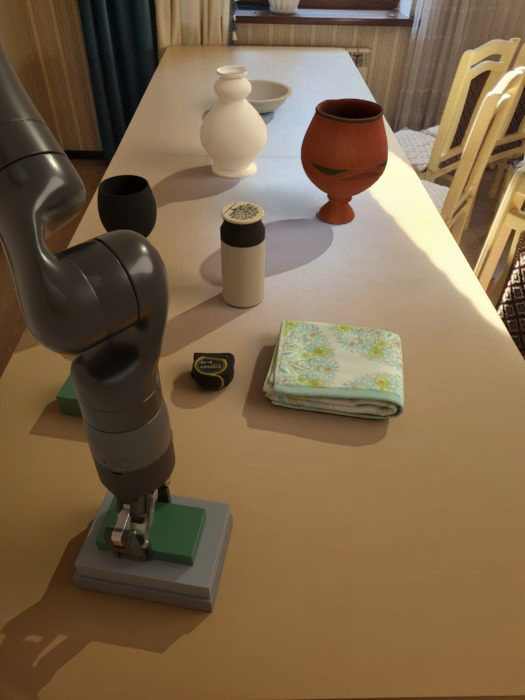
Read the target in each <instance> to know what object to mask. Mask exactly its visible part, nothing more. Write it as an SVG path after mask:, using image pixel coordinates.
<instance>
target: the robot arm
mask: <svg viewBox="0 0 525 700" xmlns="http://www.w3.org/2000/svg"><path fill="white" fill-rule="evenodd" d="M86 202H87V190H86V186H85V184H84V182H83V179H82V178H81V176H80V174H79V172H78V171H77V170H76V168H75V166H74V164H73V163H72V161H71V159H69V157H68V155H67V154H66V152H65V150H64V149H63V147H62V145H61V144H60V143H59V141H58V139H57V138H56V136H55V135H54V133H53V132H52V130H51V128H50V126H48V124H47V122H46V121H45V119H44V118H43V116H42V114H41V113H40V111H39V109H38V108H37V107H36V105H35V104H34V102H33V100H32V98H31V96H30V95H29V93H28V92H27V90H26V88H25V87H24V85H23V83H22V81H21V79H20V77H19V75H18V73H17V70H16V69H15V67H14V65H13V62H12V60H11V59H10V56H9V54H8V51H7V49H6V47H5V45H4V42H3V40H2V38H1V37H0V244H1V247H2V249H3V252H4V256H5V258H6V260H7V263H8V267H9V270H10V274H11V277H12V281H13V286H14V289H15V293H16V297H17V301H18V305H19V308H20V311H21V314H22V318H23V320H24V323H25V325H26V327H27V329H28V330H29V333H30V334H31V335H32V336H33V338H34V339H35V340H36V341H37V342H38V343H39V344H40V345H42V346H43V347H44V348H45V349H48V350H49V351H51V352H53V353H56V354H58V355H61V356H67V357H69V356H73V358H72V361H71V363H70V369H69V370H70V371H69V375H71V381H72V384H73V388H74V391H75V394H76V397H77V400H78V403H79V406H80V409H81V412H82V416H83V417H82V424H83V431H84V435H85V439H86V441H87V442H86V443H87V445H88V447H89V450H90V454H91V458H92V460H93V463H94V465H95V469H96V473H97V475H98V479H99V481H100V482H101V484H102V485H103V487H105V488H106V489H107V490H109V491H110V492H111V493H112V494H113V495H115V497H116V510H117V512H118V520H117V523H116V525H115V527H107V528H106V529H105V531H104V540H105V542H106V543H107V545H108V546H109V548H110V550H111V551H112V553H113V555H114V556H115V558H118V559H127V560H133V561H135V562H144V563H146V562H147V561H151V560H152V557H153V550H152V546H151V542H150V539H149V530H150V528H151V527H152V525H153V523H154V516H155V502H156V501H160V502H167V503H171V497H170V495H171V491H170V484H171V482H172V479H171V476H172V473H173V472H174V469H175V466H176V452H175V448H174V447H175V446H174V437H173V429H172V427H171V420H170V414H169V410H168V405H167V403H166V401H165V398H164V395H163V389H162V388H163V387H162V382H161V376H160V370H159V362H160V358H161V353H162V348H163V343H164V336H165V332H166V327H167V321H168V316H169V311H170V301H171V300H170V299H171V297H170V296H171V294H170V290H171V289H170V281H169V280H170V279H169V276H168V272H167V268H166V264H165V262H164V259H163V258H162V256H161V255H160V253H159V251H158V249H157V248H156V246H154V245H153V243H152V242H151V241H150V240H149V239H148V238H145V237H144V236H142V235H141V234H139V233H137V232H134V231H131V230H124V229H119V230H115V231H110V232H107V231H106V232H105V233H103V234H99V235H97V236H94V237H92V238H90V239H88V240H85V241H82V242H79V243H78V244H75V245H72V246H70V247H67V248H65V249H62V250H60V251H56V252H54V253H52V251H51V250H50V249H49V247H48V245H47V243H46V240H47V239H48V238H49V237H50V236H53V234H55V233H56V232H58V231H59V230H61V229H62V228H64V227H65V226H66V225H68V224H69V223H70V222H71V221H72V220H74V219H75V218H76V217H77V216H78V215H79V214H80V213H81V212H82V210H83V208H84V207H85V204H86ZM145 513H146V517H141V516H140V515H143V514H145ZM131 528H132V529H138V530H140V531H141V535H139V534H136V530H131Z"/></svg>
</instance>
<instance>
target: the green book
mask: <svg viewBox="0 0 525 700" xmlns="http://www.w3.org/2000/svg"><path fill="white" fill-rule="evenodd" d="M140 516H141V517H146V513H145V514H143V515H140ZM117 520H118V512H117V510H116V497H115V495H114V497H113V500H112V502H111V504H110V507H109V509H108V511H107V513H106V516H105V518H104V520H103V523H102V525H101V527H100V530H99V532H98V534H97V536H96V539H95V542H96V545H97V548H98V549H99V550H105V551H111V550H110V548H109V546H108V545H107V543H106V542H105V540H104V531H105V529H106V528H107V527H115V525H116V523H117ZM205 522H206V509H204V508H198V507H191V506H185V505H179V504H173V503H167V502H160V501H156V502H155V516H154V523H153V525H152V527H151V528H150V530H149V539H150V542H151V546H152V550H153V557H152V559H157V560H163V561H168V562H174V563H180V564H185V565H191V566H193V565H194V561H195V558H196V554H197V550H198V547H199V543H200V540H201V536H202V532H203V529H204V525H205ZM131 530H136V534H139V535H141V531H140V530H138V529H132V528H131ZM111 552H112V551H111Z"/></svg>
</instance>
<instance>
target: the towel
mask: <svg viewBox="0 0 525 700" xmlns="http://www.w3.org/2000/svg"><path fill="white" fill-rule="evenodd" d="M404 380H405V379H404V364H403V346H402V338H401V337H400V335H399V334H397V333H396V332H392V331H387V330H385V329H382V328H377V327H376V328H375V327H369V326H368V327H366V326H365V327H364V326H354V325H346V324H339V323H338V324H337V323H330V322H321V321H319V322H318V321H308V320H293V319H287V320H281V322H280V328H279V331H278V337H277V338H276V341H275V344H274V349H273V354H272V358H271V362H270V365H269V368H268V370H267V374H266V377H265V380H264V383H263V387H262V392H264V393H265V394H264V395H265V397H266V398H268V399H269V400H270V403H272V405H275V406H280V407H284V408H290V409H294V410H305V411H313V412H322V413H327V414H335V415H340V416H346V417H347V416H348V417H355V418H363V419H374V420H375V419H376V420H386V419H393V418H399V417H400V416H401V415H402V414H403V413H404V410H405V385H404Z"/></svg>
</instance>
